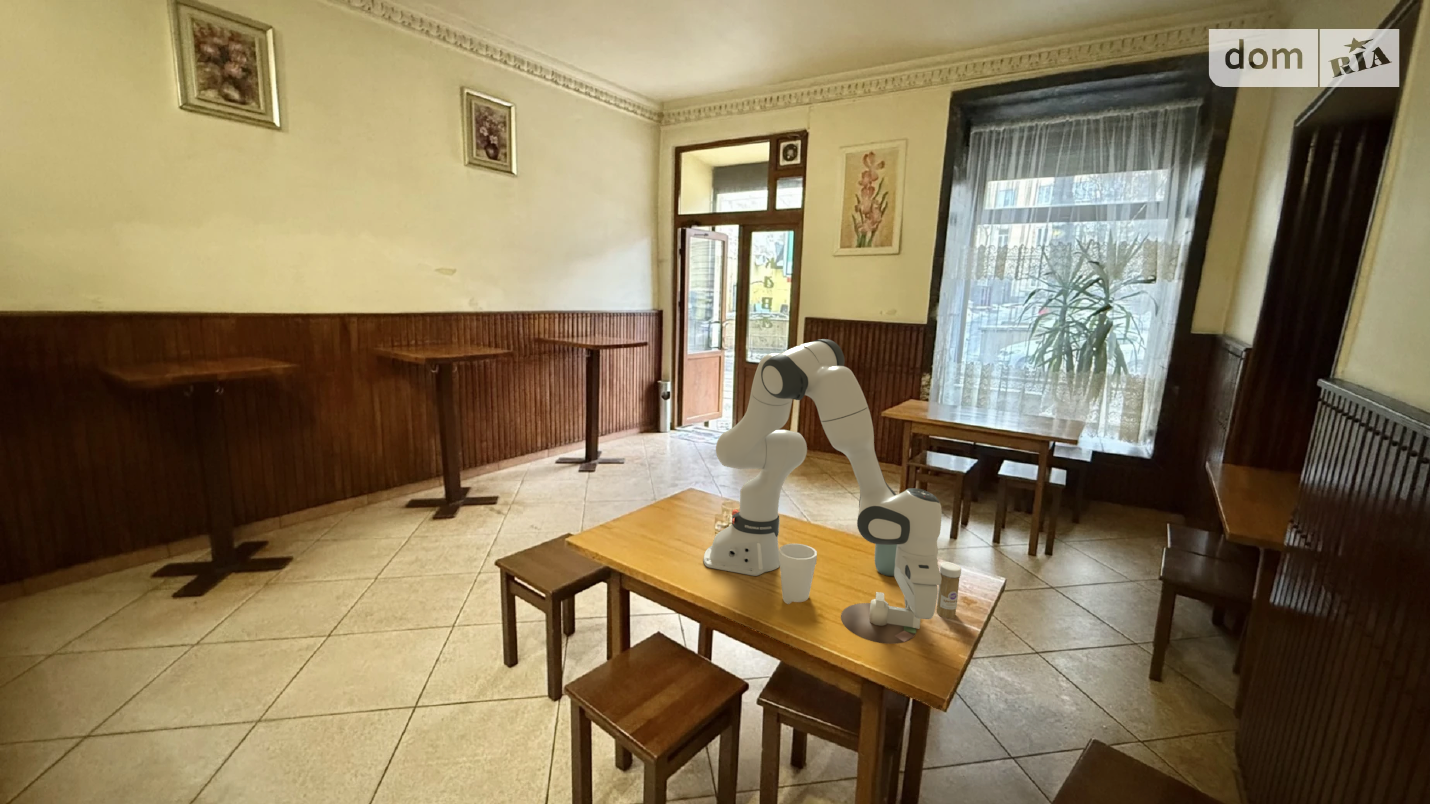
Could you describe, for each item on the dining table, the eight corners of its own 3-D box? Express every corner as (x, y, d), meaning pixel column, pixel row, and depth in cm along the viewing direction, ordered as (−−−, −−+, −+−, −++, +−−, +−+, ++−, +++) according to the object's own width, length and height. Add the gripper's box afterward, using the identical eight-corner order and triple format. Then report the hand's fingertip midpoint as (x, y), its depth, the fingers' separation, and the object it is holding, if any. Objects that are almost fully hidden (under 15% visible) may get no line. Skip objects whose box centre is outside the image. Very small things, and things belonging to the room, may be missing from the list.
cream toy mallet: (869, 623, 129) (871, 599, 128) (869, 614, 133) (871, 591, 132) (919, 632, 126) (922, 607, 125) (918, 623, 130) (920, 598, 129)
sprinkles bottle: (945, 624, 132) (951, 571, 130) (931, 615, 137) (936, 563, 134) (959, 620, 134) (965, 568, 132) (945, 611, 138) (950, 560, 136)
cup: (903, 580, 154) (906, 546, 152) (874, 577, 155) (877, 543, 154) (900, 568, 161) (903, 535, 160) (872, 565, 163) (874, 532, 161)
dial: (843, 644, 123) (844, 638, 123) (837, 604, 140) (837, 599, 140) (923, 652, 121) (924, 646, 121) (907, 611, 138) (908, 606, 138)
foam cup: (813, 611, 137) (816, 561, 134) (775, 607, 138) (778, 557, 136) (813, 592, 146) (816, 545, 144) (778, 588, 147) (780, 541, 145)
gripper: (890, 540, 138) (885, 592, 140) (913, 579, 118) (907, 639, 120) (917, 542, 138) (911, 594, 140) (944, 581, 118) (937, 642, 120)
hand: (909, 615), depth 130 cm, fingers closed, pressing on cream toy mallet
